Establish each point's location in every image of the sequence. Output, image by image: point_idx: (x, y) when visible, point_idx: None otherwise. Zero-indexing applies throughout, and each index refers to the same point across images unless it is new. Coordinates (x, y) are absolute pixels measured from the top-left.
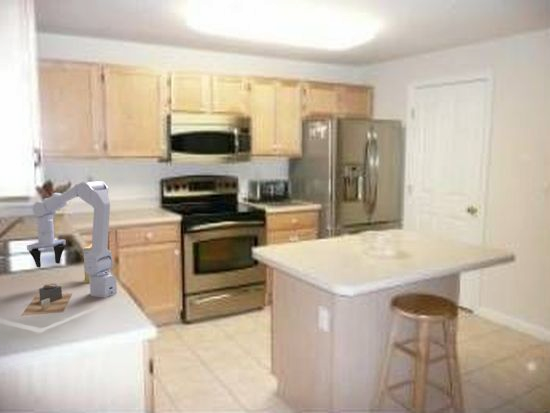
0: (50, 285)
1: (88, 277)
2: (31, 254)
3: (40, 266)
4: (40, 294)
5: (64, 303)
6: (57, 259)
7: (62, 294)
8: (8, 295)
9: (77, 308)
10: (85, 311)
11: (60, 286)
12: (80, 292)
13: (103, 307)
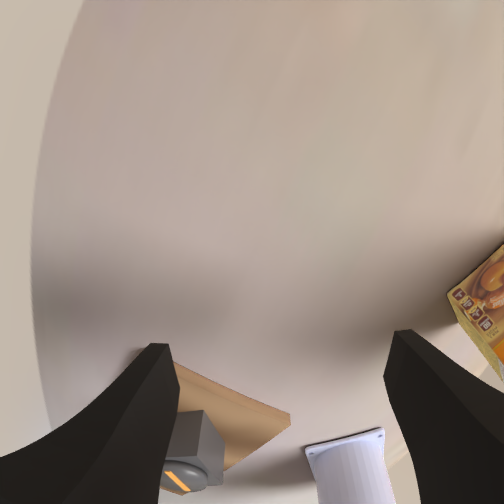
0: (177, 484)
1: (467, 327)
2: (35, 459)
3: (176, 397)
4: None
5: None
6: (402, 402)
7: (248, 417)
8: (49, 188)
9: (233, 482)
10: (238, 496)
11: (219, 483)
12: (339, 395)
13: (286, 498)
